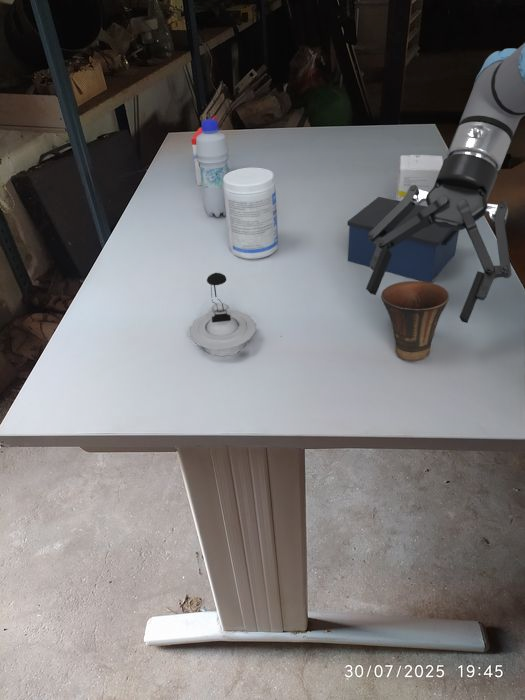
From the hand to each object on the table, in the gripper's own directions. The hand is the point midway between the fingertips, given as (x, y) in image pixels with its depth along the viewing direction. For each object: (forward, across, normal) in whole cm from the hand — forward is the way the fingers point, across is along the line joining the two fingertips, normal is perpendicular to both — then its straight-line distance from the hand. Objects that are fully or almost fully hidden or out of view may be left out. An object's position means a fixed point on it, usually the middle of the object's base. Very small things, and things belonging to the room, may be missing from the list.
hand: (414, 305), depth 75 cm
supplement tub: (-4, -38, +14) cm, 41 cm away
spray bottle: (-22, -70, +32) cm, 80 cm away
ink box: (-25, -17, +35) cm, 46 cm away
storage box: (-12, -12, +22) cm, 28 cm away
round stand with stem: (+15, -24, -5) cm, 29 cm away
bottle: (-11, -55, +21) cm, 60 cm away
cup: (+6, 0, +4) cm, 7 cm away
